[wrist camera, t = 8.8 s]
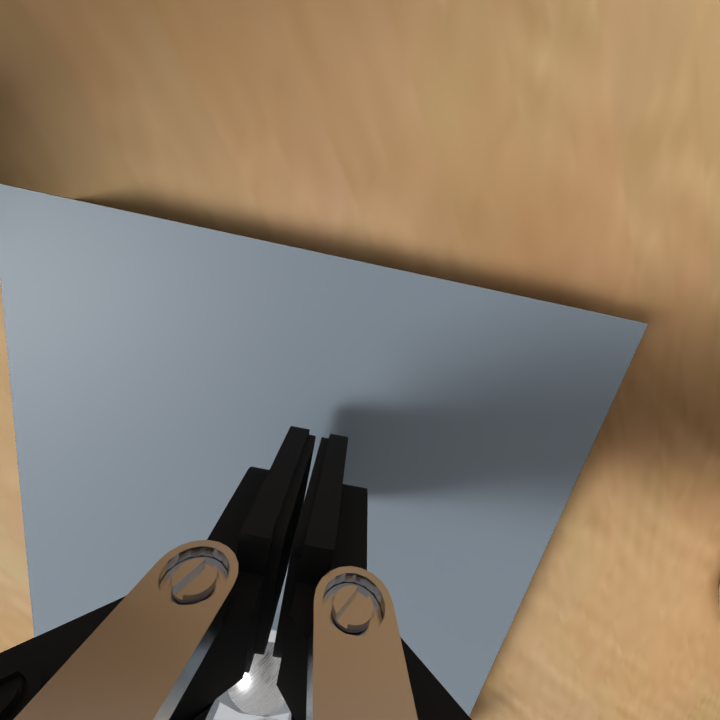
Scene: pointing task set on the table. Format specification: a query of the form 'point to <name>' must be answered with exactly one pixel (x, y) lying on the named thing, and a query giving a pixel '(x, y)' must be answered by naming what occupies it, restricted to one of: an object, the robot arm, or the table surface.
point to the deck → (289, 412)
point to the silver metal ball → (259, 686)
